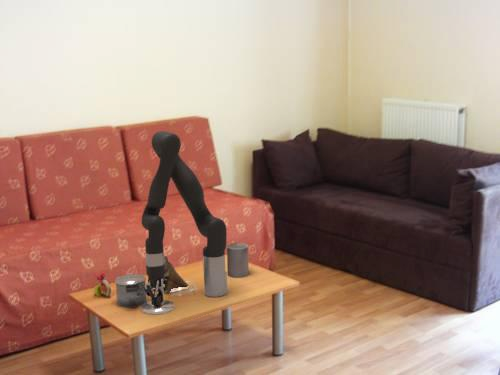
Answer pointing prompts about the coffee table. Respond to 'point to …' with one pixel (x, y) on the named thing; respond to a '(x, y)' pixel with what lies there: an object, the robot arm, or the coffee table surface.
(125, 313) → the coffee table surface
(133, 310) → the coffee table surface
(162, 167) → the robot arm
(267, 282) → the coffee table surface
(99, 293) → the bird rattle
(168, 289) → the worn brown figurine
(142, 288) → the cooker pot
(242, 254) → the pillar candle
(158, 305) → the cooker lid
